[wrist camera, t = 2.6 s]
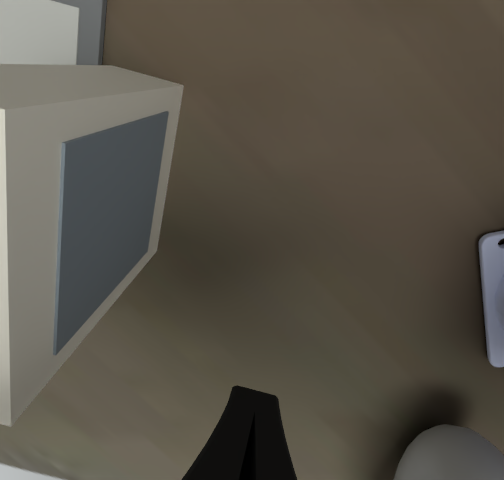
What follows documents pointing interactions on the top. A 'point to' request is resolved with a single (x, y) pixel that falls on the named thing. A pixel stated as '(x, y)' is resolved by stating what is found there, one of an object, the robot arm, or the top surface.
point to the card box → (74, 207)
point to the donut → (450, 456)
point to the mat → (52, 32)
